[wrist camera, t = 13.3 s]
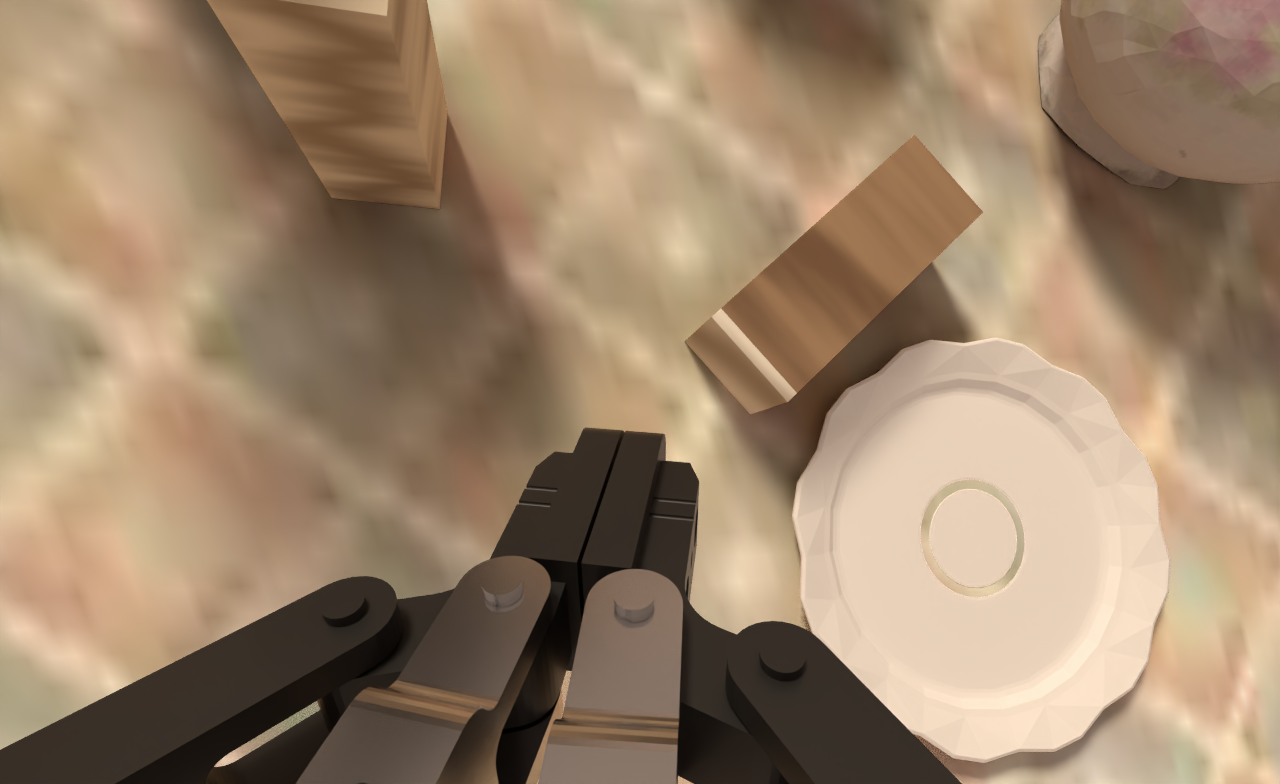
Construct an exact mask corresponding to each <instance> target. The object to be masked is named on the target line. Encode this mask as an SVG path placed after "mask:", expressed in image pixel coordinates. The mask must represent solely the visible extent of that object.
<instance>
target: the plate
mask: <svg viewBox="0 0 1280 784" xmlns="http://www.w3.org/2000/svg"><path fill="white" fill-rule="evenodd" d="M962 480H978V481H982V482H985V483H987V484H990V485H993V486H994V487H995V488H997V489H998V490H1000V491H1001V492H1002V493H1004V494H1005V495H1006V496H1007V498H1008V499H1009V500H1010V501H1011V502H1012V504H1013V505H1014V506H1015V508H1016V510H1017V512H1018V514H1019V516H1020V518H1021V522H1022V526H1023V530H1024V539H1025V549H1024V554H1023V559H1022V563H1021V565H1020V567H1019V569H1018V571H1017V573H1016V575H1015V577H1014V578H1013V579H1012V580H1011V581H1010V582H1009V583H1008V585H1007V586H1006V587H1004V588H1003V589H1001V590H999V591H998V592H996V593H995V594H991V595H987V596H984V597H967V596H964V595H961V594H958V593H955V592H953V591H952V590H950V589H949V588H947V587H946V586H945V585H943V584H942V583H941V582H940V581H939V580H938V579H937V577H936V576H935V575H934V574H933V573H932V571H931V569H930V568H929V566H928V564H927V562H926V560H925V557H924V553H923V549H922V545H921V524H922V520H923V516H924V512H925V510H926V508H927V507H928V505H929V503H930V501H931V499H932V498H933V497H934V496H935V495H936V494H937V493H938V492H939V491H940V490H941V489H942V488H944V487H946V486H948V485H949V484H951V483H953V482H957V481H962ZM792 520H793V525H794V529H795V533H796V538H797V542H798V547H799V551H800V556H801V568H800V601H801V604H802V606H803V609H804V612H805V615H806V618H807V621H808V624H809V626H810V629H811V632H812V633H813V634H814V635H815V636H816V637H817V638H819V639H820V640H821V641H822V642H823V643H824V644H825V645H826V646H827V647H828V648H829V649H830V650H831V651H832V652H833V653H834V654H835V655H836V656H837V657H838V658H839V659H840V660H841V661H842V662H843V663H844V664H845V665H846V666H847V667H848V668H849V669H850V670H851V671H852V673H853V674H854V675H855V676H856V677H857V678H858V679H859V680H860V681H861V682H862V683H863V684H864V685H865V686H866V687H867V688H868V689H869V690H870V691H871V692H872V693H873V694H874V695H875V696H876V697H877V698H878V699H879V700H880V701H881V702H882V703H883V704H884V705H885V706H886V707H887V708H888V709H889V710H890V711H891V712H892V713H893V714H894V715H895V716H896V717H897V718H898V719H899V720H900V721H901V722H902V723H903V724H904V725H905V726H906V727H907V729H908V730H909V731H910V732H911V733H912V734H915V735H918V736H921V737H923V738H924V739H925V740H927V741H928V742H930V743H931V744H933V745H934V746H936V747H937V748H939V749H940V750H942V751H943V752H945V753H946V754H948V755H949V756H951V757H952V758H955V759H961V760H968V761H974V762H981V763H986V762H989V761H992V760H995V759H999V758H1002V757H1005V756H1008V755H1011V754H1014V753H1017V752H1055V751H1057V750H1059V749H1061V748H1063V747H1065V746H1067V745H1069V744H1071V743H1073V742H1075V741H1077V740H1079V739H1081V738H1082V737H1083V736H1084V734H1085V733H1086V732H1087V731H1088V729H1089V728H1090V727H1091V725H1092V724H1093V723H1094V722H1095V720H1096V719H1097V718H1098V717H1099V715H1100V714H1101V713H1102V711H1103V710H1104V709H1105V708H1107V707H1108V706H1109V705H1111V704H1112V703H1114V702H1115V701H1117V700H1118V699H1119V698H1121V697H1122V696H1124V695H1125V694H1127V693H1128V692H1129V691H1131V690H1132V689H1133V688H1134V686H1135V684H1136V682H1137V681H1138V679H1139V677H1140V676H1141V674H1142V672H1143V671H1144V669H1145V667H1146V666H1147V664H1148V661H1149V655H1150V649H1151V643H1152V637H1153V631H1154V625H1155V623H1156V620H1157V618H1158V616H1159V613H1160V611H1161V609H1162V607H1163V604H1164V602H1165V600H1166V597H1167V595H1168V593H1169V578H1170V557H1169V553H1168V550H1167V546H1166V543H1165V539H1164V536H1163V532H1162V529H1161V525H1160V512H1159V494H1158V485H1157V483H1156V480H1155V478H1154V475H1153V473H1152V470H1151V468H1150V465H1149V463H1148V460H1147V458H1146V456H1145V455H1144V454H1143V453H1142V452H1141V451H1140V450H1139V448H1138V447H1137V446H1136V445H1135V444H1134V443H1133V441H1132V440H1131V439H1130V438H1129V437H1128V436H1127V434H1126V433H1125V432H1124V431H1123V430H1122V428H1121V426H1120V424H1119V422H1118V420H1117V418H1116V416H1115V414H1114V413H1113V411H1112V409H1111V407H1110V405H1109V403H1108V401H1107V399H1106V398H1105V397H1104V396H1103V395H1102V394H1101V393H1100V392H1099V391H1098V390H1097V389H1096V388H1095V387H1093V386H1092V385H1091V384H1090V383H1089V382H1088V381H1087V380H1086V379H1085V378H1084V377H1082V376H1079V375H1077V374H1074V373H1071V372H1069V371H1066V370H1064V369H1061V368H1059V367H1056V366H1054V365H1052V364H1050V363H1049V362H1048V361H1046V360H1045V359H1043V358H1042V357H1041V356H1039V355H1038V354H1037V353H1035V352H1034V351H1032V350H1031V349H1030V348H1028V347H1027V346H1026V345H1024V344H1021V343H1017V342H1013V341H1009V340H1005V339H1001V338H997V337H995V338H989V339H984V340H979V341H973V342H968V343H958V342H948V341H939V340H927V341H924V342H921V343H918V344H915V345H913V346H910V347H907V348H904V349H901V350H900V351H899V352H898V353H897V354H896V355H895V356H894V357H893V358H892V359H891V360H890V361H889V362H888V363H887V364H886V365H885V366H884V367H883V368H882V369H881V370H880V371H878V372H877V373H876V374H874V375H872V376H870V377H868V378H866V379H864V380H862V381H860V382H858V383H856V384H855V385H853V386H851V387H849V388H847V389H845V390H844V392H843V393H842V394H841V396H840V397H839V398H838V399H837V401H836V402H835V403H834V404H833V406H832V407H831V408H830V409H829V411H828V412H827V413H826V416H825V420H824V424H823V427H822V431H821V435H820V438H819V442H818V446H817V449H816V451H815V453H814V455H813V456H812V458H811V460H810V462H809V463H808V465H807V467H806V468H805V470H804V472H803V473H802V475H801V477H800V478H799V480H798V482H797V485H796V492H795V499H794V505H793V512H792ZM930 545H931V549H932V554H933V556H934V558H935V560H936V562H937V564H938V566H939V567H940V569H941V570H942V571H943V572H944V573H945V574H946V576H947V577H949V578H950V579H952V580H953V581H955V582H956V583H957V584H960V585H963V586H966V587H971V588H982V587H986V586H989V585H992V584H994V583H995V582H997V581H999V580H1000V579H1002V577H1003V576H1004V575H1005V574H1006V573H1007V572H1008V571H1009V569H1010V567H1011V565H1012V563H1013V561H1014V559H1015V554H1016V549H1017V533H1016V529H1015V525H1014V521H1013V519H1012V518H1011V516H1010V514H1009V512H1008V510H1007V509H1006V508H1005V506H1004V505H1003V504H1002V503H1001V502H1000V501H999V500H998V499H996V498H995V497H994V496H992V495H991V494H989V493H986V492H984V491H981V490H976V489H965V490H960V491H956V492H955V493H953V494H951V495H949V496H948V497H946V498H945V499H944V500H943V501H942V502H941V503H940V505H939V506H938V507H937V509H936V511H935V513H934V515H933V517H932V521H931V525H930Z"/></svg>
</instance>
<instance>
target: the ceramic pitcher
mask: <svg viewBox="0 0 1280 784" xmlns="http://www.w3.org/2000/svg"><path fill="white" fill-rule="evenodd" d="M1038 51H1039V74H1040V86H1041V101H1042V107H1043V108H1044V110H1045V111H1046V112H1047V113H1048V114H1049V115H1050V116H1051V117H1052V118H1053V120H1054V121H1055V122H1056V123H1057V124H1058V125H1059V126H1060V128H1061V129H1062V130H1063V131H1064V132H1065V133H1066V134H1067V135H1068V136H1069V137H1070V138H1071V139H1072V140H1073V141H1074V142H1075V143H1076V144H1077V145H1078V146H1079V147H1081V148H1082V149H1083V150H1084V151H1086V152H1087V153H1088V154H1089V155H1091V156H1092V157H1093V158H1095V159H1096V160H1097V161H1099V162H1100V163H1101V164H1102V165H1104V166H1105V167H1106V168H1108V169H1109V170H1110V171H1112V172H1113V173H1114V174H1116V175H1118V176H1119V177H1121V178H1122V179H1124V180H1125V181H1126V182H1127V183H1129V184H1133V185H1138V186H1147V187H1154V188H1160V189H1166V188H1167V187H1169V186H1170V185H1171V184H1173V183H1174V182H1175V181H1177V180H1178V179H1179V177H1185V178H1193V179H1200V180H1207V181H1215V182H1223V183H1234V184H1260V183H1272V182H1280V0H1062V2H1061V10H1060V13H1059V14H1058V15H1057V16H1056V17H1055V18H1054V20H1053V21H1052V22H1051V24H1050V25H1049V26H1048V27H1047V29H1046V30H1045V31H1044V33H1043V34H1042V35H1041V36H1040V37H1039V42H1038Z"/></svg>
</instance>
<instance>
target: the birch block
mask: <svg viewBox="0 0 1280 784" xmlns="http://www.w3.org/2000/svg"><path fill="white" fill-rule="evenodd" d="M207 2H208V3H209V5H210V6H211V8H212V9H213V11H214V13H215V14H216V16H217V17H218V19H219V21H220V22H221V24H222V25H223V27H224V28H225V30H226V32H227V33H228V35H229V36H230V38H231V40H232V41H233V43H234V44H235V46H236V47H237V49H238V51H239V52H240V54H241V55H242V57H243V58H244V60H245V62H246V63H247V65H248V66H249V68H250V70H251V71H252V73H253V74H254V76H255V77H256V79H257V81H258V82H259V84H260V85H261V87H262V89H263V90H264V92H265V93H266V95H267V96H268V98H269V100H270V101H271V103H272V104H273V106H274V108H275V109H276V111H277V112H278V114H279V115H280V117H281V119H282V120H283V122H284V123H285V125H286V126H287V128H288V130H289V131H290V133H291V134H292V136H293V138H294V139H295V141H296V142H297V144H298V145H299V147H300V149H301V150H302V152H303V153H304V155H305V157H306V158H307V160H308V161H309V163H310V164H311V166H312V168H313V169H314V171H315V172H316V174H317V175H318V177H319V179H320V180H321V182H322V183H323V185H324V187H325V188H326V190H327V191H328V193H329V194H330V196H331V198H337V199H346V200H356V201H366V202H376V203H386V204H396V205H406V206H415V207H425V208H435V209H440V201H441V189H442V177H443V165H444V153H445V141H446V129H447V117H448V113H447V108H446V102H445V97H444V91H443V86H442V81H441V75H440V70H439V64H438V59H437V54H436V48H435V43H434V37H433V32H432V27H431V21H430V16H429V10H428V5H427V0H207Z"/></svg>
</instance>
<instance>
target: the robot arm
mask: <svg viewBox="0 0 1280 784" xmlns="http://www.w3.org/2000/svg"><path fill="white" fill-rule="evenodd" d="M698 496H699V480H698V478H697V476H696V474H695V472H694V470H693V468H692V466H691V464H690V463H684V462H672V461H666V440H665V434H659V433H646V432H633V431H625V433H624V431H622V430H609V429H596V428H584V429H583V431H582V433H581V436H580V438H579V440H578V443H577V445H576V447H575V450H574V452H573V453H564V452H554V453H552V454H551V455H550V456H549V457H548V458H546V459H545V460H544V461H543V462H541V463H540V464H539V465H538V466H536V468H535V470H534V472H533V474H532V476H531V478H530V480H529V482H528V484H527V488H526V489H525V490H524V492H523V494H522V496H521V498H520V500H519V505H518V504H517V506H516V508H515V510H514V512H513V514H512V516H511V518H510V520H509V522H508V524H507V526H506V528H505V530H504V532H503V534H502V536H501V538H500V540H499V542H498V544H497V546H496V548H495V550H494V552H493V554H492V556H491V558H490V559H489V560H487V561H484V562H482V563H480V564H478V565H476V566H475V567H473V568H472V569H471V570H469V571H468V572H467V573H466V574H465V575H464V576H463V578H462V579H461V580H460V582H459V583H458V585H457V586H456V588H455V589H452V590H449V591H446V592H443V593H438V594H433V595H426V596H419V597H412V598H405V599H398V600H397V598H396V594H395V591H394V590H393V588H392V587H391V586H390V585H389V584H388V583H387V582H385V581H383V580H381V579H378V578H374V577H368V576H359V577H351V578H346V579H342V580H339V581H336V582H333V583H331V584H329V585H327V586H325V587H323V588H321V589H319V590H317V591H315V592H313V593H311V594H309V595H307V596H305V597H303V598H301V599H299V600H297V601H295V602H293V603H291V604H289V605H287V606H285V607H283V608H281V609H279V610H277V611H275V612H273V613H271V614H269V615H267V616H265V617H263V618H261V619H259V620H257V621H255V622H253V623H251V624H249V625H247V626H245V627H243V628H241V629H239V630H237V631H235V632H233V633H231V634H229V635H227V636H225V637H223V638H221V639H219V640H217V641H215V642H213V643H211V644H209V645H207V646H205V647H203V648H202V649H200V650H198V651H196V652H194V653H192V654H190V655H188V656H186V657H184V658H182V659H180V660H178V661H176V662H174V663H172V664H170V665H168V666H166V667H164V668H162V669H160V670H158V671H156V672H154V673H152V674H150V675H148V676H146V677H144V678H142V679H140V680H138V681H136V682H134V683H132V684H130V685H128V686H126V687H124V688H122V689H120V690H118V691H116V692H114V693H112V694H110V695H108V696H106V697H104V698H102V699H100V700H98V701H96V702H94V703H92V704H90V705H88V706H86V707H84V708H82V709H80V710H78V711H77V712H75V713H73V714H71V715H69V716H67V717H65V718H63V719H61V720H59V721H57V722H55V723H53V724H51V725H49V726H47V727H45V728H43V729H41V730H39V731H37V732H35V733H33V734H31V735H29V736H27V737H25V738H23V739H21V740H19V741H17V742H15V743H13V744H11V745H9V746H7V747H5V748H3V749H1V750H0V784H537V782H538V779H539V782H538V784H678V776H680V777H682V778H684V779H686V780H688V781H690V782H692V783H694V784H962V783H961V782H960V781H959V780H958V779H957V778H956V777H955V776H954V775H953V774H952V773H951V772H950V771H949V770H948V769H947V768H946V767H945V766H944V765H943V764H942V763H941V762H940V761H939V760H938V759H937V758H936V757H935V756H934V755H933V754H932V753H931V752H930V751H929V750H928V749H927V748H926V747H925V746H924V745H923V744H922V743H921V742H920V741H919V740H918V739H917V738H916V737H915V736H914V735H913V734H912V733H911V732H910V731H909V730H908V729H907V727H906V726H905V725H904V724H903V723H902V722H901V721H900V720H899V719H898V718H897V717H896V716H895V715H894V714H893V713H892V712H891V711H890V710H889V709H888V708H887V707H886V706H885V705H884V704H883V703H882V702H881V701H880V700H879V699H878V698H877V697H876V696H875V695H874V694H873V693H872V692H871V691H870V690H869V689H868V688H867V687H866V686H865V685H864V684H863V683H862V682H861V681H860V680H859V679H858V678H857V677H856V676H855V675H854V674H853V673H852V671H851V670H850V669H849V668H848V667H847V666H846V665H845V664H844V663H843V662H842V661H841V660H840V659H839V658H838V657H837V656H836V655H835V654H834V653H833V652H832V651H831V650H830V649H829V648H828V647H827V646H826V645H825V644H824V643H823V642H822V641H821V640H820V639H819V638H817V637H816V636H815V635H814V634H812V633H811V632H809V631H807V630H805V629H803V628H801V627H799V626H796V625H793V624H790V623H785V622H777V621H769V622H761V623H756V624H754V625H751V626H748V627H747V628H745V629H743V630H742V631H741V632H740V633H738V634H737V635H736V634H734V633H731V632H729V631H726V630H724V629H721V628H719V627H717V626H715V625H713V624H711V623H710V622H708V621H706V620H705V619H704V618H702V617H701V616H700V615H699V614H698V613H697V612H696V611H695V610H694V609H693V607H692V606H691V604H690V602H689V601H690V593H691V584H692V577H693V568H694V561H695V554H696V546H697V521H698ZM566 670H568V671H572V673H571V678H570V683H569V688H568V693H567V698H566V703H565V708H564V712H563V700H562V690H561V687H562V683H563V680H564V677H565V673H566ZM315 701H318V704H319V707H320V710H319V711H318V712H316V713H314V714H313V715H311V716H310V717H308V718H306V719H305V720H303V721H301V722H300V723H298V724H296V725H295V726H293V727H291V728H290V729H288V730H287V731H285V732H283V733H282V734H280V735H278V736H277V737H275V738H273V739H272V740H270V741H268V742H267V743H265V744H263V745H262V746H260V747H259V748H257V749H255V750H254V751H252V752H250V753H249V754H247V755H245V756H244V757H242V758H240V759H239V760H237V761H235V762H233V763H231V764H229V765H226V766H221V767H214V766H215V764H216V763H217V762H218V761H219V760H221V759H222V758H223V757H224V756H226V755H227V754H229V753H230V752H232V751H233V750H235V749H237V748H238V747H240V746H242V745H243V744H245V743H247V742H248V741H250V740H252V739H253V738H255V737H257V736H258V735H260V734H262V733H263V732H265V731H267V730H268V729H270V728H272V727H273V726H275V725H277V724H278V723H280V722H282V721H284V720H285V719H287V718H289V717H290V716H292V715H294V714H295V713H297V712H299V711H300V710H302V709H304V708H305V707H307V706H309V705H310V704H312V703H314V702H315ZM562 713H563V715H562ZM561 717H562V718H561Z"/></svg>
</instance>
